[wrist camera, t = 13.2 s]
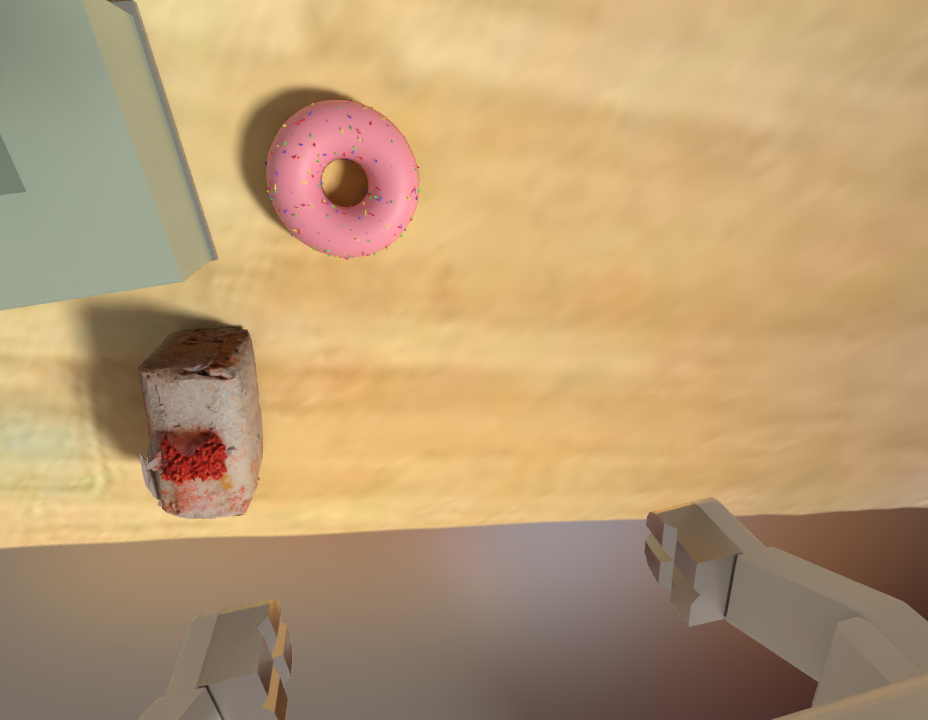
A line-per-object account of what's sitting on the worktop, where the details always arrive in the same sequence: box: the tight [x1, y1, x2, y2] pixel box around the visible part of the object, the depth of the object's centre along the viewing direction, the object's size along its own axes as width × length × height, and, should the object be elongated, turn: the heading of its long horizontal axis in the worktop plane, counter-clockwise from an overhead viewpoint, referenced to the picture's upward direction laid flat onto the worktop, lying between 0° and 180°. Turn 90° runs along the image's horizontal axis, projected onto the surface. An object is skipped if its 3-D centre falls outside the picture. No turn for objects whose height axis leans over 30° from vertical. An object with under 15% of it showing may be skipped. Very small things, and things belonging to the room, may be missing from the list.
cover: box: [0, 0, 212, 310], centre depth 29 cm, size 16×16×11 cm
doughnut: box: [265, 100, 420, 260], centre depth 37 cm, size 11×11×4 cm
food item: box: [138, 327, 263, 519], centre depth 39 cm, size 14×8×10 cm, turn 177°
